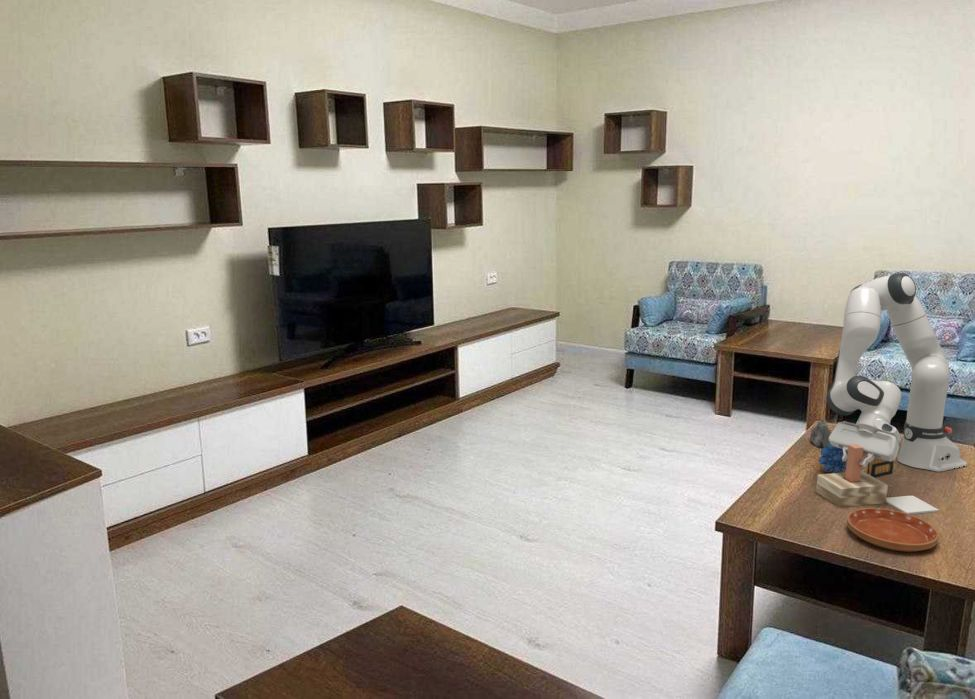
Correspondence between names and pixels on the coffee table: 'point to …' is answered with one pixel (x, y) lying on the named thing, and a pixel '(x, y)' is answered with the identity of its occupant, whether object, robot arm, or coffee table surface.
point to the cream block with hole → (851, 490)
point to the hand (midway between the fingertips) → (853, 463)
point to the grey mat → (910, 505)
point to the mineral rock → (821, 434)
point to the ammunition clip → (880, 467)
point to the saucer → (892, 529)
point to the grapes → (832, 459)
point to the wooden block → (853, 463)
